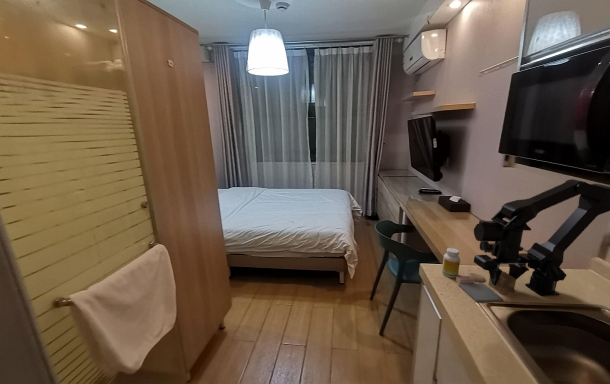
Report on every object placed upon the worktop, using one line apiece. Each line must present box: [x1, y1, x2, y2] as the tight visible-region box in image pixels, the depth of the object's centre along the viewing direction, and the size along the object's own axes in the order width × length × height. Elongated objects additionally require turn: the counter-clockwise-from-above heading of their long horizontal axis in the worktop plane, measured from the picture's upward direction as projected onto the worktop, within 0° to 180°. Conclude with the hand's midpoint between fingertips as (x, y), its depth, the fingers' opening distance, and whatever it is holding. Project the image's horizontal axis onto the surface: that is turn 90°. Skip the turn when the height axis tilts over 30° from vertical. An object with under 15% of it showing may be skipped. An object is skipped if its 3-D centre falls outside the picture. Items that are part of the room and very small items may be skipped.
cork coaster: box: [465, 272, 486, 283], centre depth 100 cm, size 6×6×1 cm
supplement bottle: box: [441, 247, 461, 279], centre depth 101 cm, size 5×5×10 cm
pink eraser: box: [455, 275, 474, 284], centre depth 97 cm, size 5×2×2 cm, turn 97°
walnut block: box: [487, 270, 517, 294], centre depth 93 cm, size 5×5×5 cm
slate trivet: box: [457, 282, 504, 303], centre depth 91 cm, size 9×9×1 cm
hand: (501, 284), depth 93 cm, fingers open, 5 cm apart
